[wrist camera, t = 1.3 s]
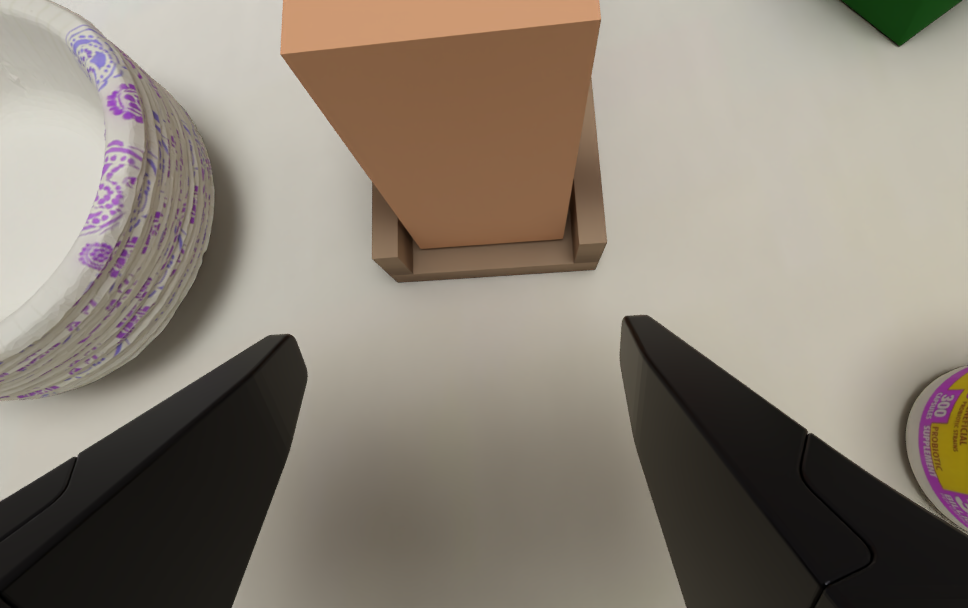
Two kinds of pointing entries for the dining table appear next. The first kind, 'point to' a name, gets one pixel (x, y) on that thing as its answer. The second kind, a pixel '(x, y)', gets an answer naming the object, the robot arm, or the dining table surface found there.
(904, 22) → the milk carton
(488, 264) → the brown wooden tray
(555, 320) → the dining table surface
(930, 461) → the supplement bottle
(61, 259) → the paper bowls
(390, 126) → the block
